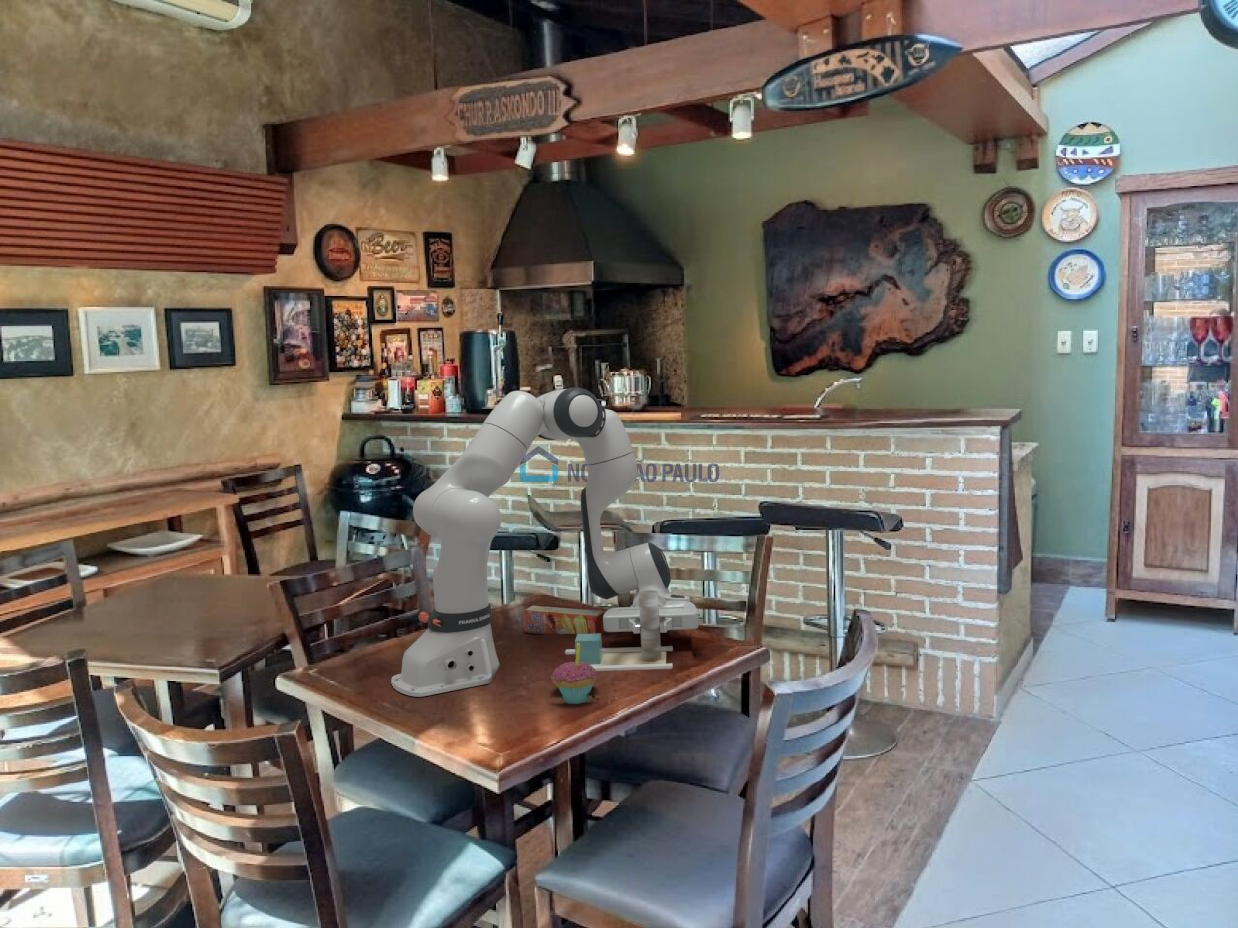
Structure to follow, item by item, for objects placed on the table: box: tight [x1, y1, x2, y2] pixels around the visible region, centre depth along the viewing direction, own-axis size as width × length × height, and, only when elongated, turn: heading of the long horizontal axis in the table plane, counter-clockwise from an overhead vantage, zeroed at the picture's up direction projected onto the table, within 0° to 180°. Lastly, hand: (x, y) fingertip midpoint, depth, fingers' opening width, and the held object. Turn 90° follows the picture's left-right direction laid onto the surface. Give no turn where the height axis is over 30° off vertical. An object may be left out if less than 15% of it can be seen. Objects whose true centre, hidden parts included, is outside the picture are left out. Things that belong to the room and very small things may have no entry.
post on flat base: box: [574, 590, 667, 666], centre depth 188 cm, size 19×9×15 cm, turn 86°
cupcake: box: [550, 640, 598, 705], centre depth 171 cm, size 9×8×12 cm
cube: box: [574, 633, 603, 664], centre depth 189 cm, size 5×5×5 cm
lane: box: [564, 645, 674, 672], centre depth 189 cm, size 23×13×2 cm, turn 86°
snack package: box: [522, 605, 609, 636], centre depth 214 cm, size 21×7×7 cm, turn 59°
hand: (649, 629), depth 187 cm, fingers closed on post on flat base, 4 cm apart
